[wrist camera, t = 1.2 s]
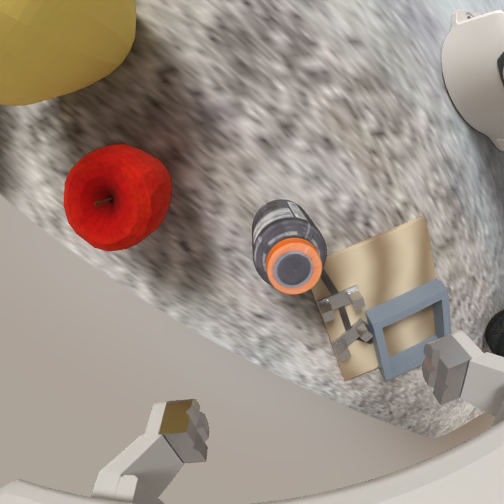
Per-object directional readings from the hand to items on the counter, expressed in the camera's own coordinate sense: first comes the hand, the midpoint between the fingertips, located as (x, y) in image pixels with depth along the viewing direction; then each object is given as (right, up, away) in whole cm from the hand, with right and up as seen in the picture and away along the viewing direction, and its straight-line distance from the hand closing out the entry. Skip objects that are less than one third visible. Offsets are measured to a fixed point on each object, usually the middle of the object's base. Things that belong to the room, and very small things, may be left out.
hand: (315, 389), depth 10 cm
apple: (-13, +12, +21) cm, 28 cm away
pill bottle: (+1, +7, +23) cm, 24 cm away
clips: (+9, -3, +26) cm, 27 cm away
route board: (+14, -2, +26) cm, 30 cm away
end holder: (+18, -4, +27) cm, 33 cm away
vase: (-19, +27, +15) cm, 37 cm away
